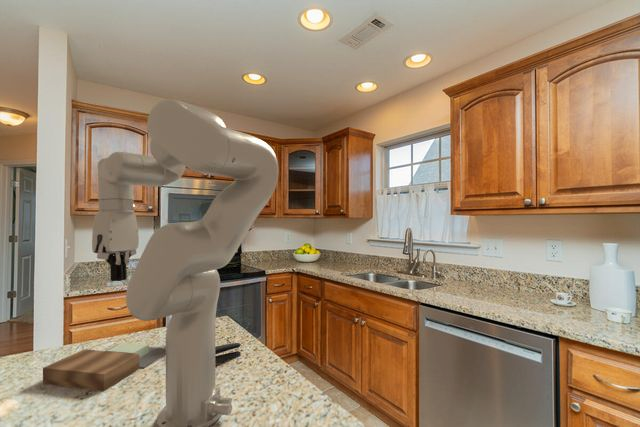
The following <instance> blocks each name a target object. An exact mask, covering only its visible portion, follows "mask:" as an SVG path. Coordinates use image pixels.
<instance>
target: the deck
mask: <svg viewBox="0 0 640 427" xmlns="http://www.w3.org/2000/svg"><path fill="white" fill-rule="evenodd" d="M138 369H139V370H140V368H139V354H131V353H120V352H108V351H106V350H97V349H95V350H94V349H82V350H79V351H77V352H75V353H73V354H71V355H68V356H66V357H64V358H61V359H60V360H57V361H55V362H53V363H50V364H49V365H46V366H44V367H42V385H48V386H56V387H66V388H74V389H75V388H76V389H82V390H83V389H84V390H90V391H99V392H105V391H107V390H109V389H110V388H112V387H113V386H115V385H117V384H118V383H119V382H121V381H123V380H124V379H126V378H127V377H129V376H131V375H133V374H134V373H136V372H137V371H139V370H138Z"/></svg>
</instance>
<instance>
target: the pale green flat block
mask: <svg viewBox="0 0 640 427" xmlns="http://www.w3.org/2000/svg"><path fill="white" fill-rule="evenodd" d="M116 345H117V346H116ZM116 345H114V346H115V347H114V346H112V347H113V348H112V347H110V348H111V349H110V348H108V349H109V350H108V349H106V350H107V351H108V352H120V353H131V354H139V358H140V357H142V356H144V355H145V354H147V353H149V347H150V346H149V343H148V344H147V343H134V342H133V343H132V342H131V343H130V342H122V343H120V344H116Z"/></svg>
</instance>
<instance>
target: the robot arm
mask: <svg viewBox="0 0 640 427" xmlns="http://www.w3.org/2000/svg"><path fill="white" fill-rule="evenodd" d="M147 132H148V133H149V135H150V137H151V139H150V142H149V143H150V144H149V148H150V149H149V150H150V152H151V156H149V155H144V154H138V153H132V152H127V151H126V152H125V151H115V152H112V153H111V154H110V155H108V156H107V157H105V158H101V159H100V160H99V161H98V162H97V194H98V197H97V198H98V202H97V203H98V212H96V213H95V216H94V220H93V225H92V237H91V239H92V240H91V249H92V252H93V254H97V255H96V257H97V259H98V260H105V262H106V263H107V265H108V266H109V267H110V268H109V270H110V281H111V282H123V281H125V280H128V276H127V275H128V274H127V264H129V259H130V258H131V257H132V256H134V255H137V249H138V248H139V238H140V237H139V226H138V221H137V216H136V213H135V201H134V200H135V199H134V193H135V192H134V186H145V187H164V186H167V185H170V184H172V183H174V182H176V181H178V180H180V178H182V176H183V174H184V172H185V171H186V168H188V169H190V170H192V171H194V172H197V173H199V174H204V175H207V176H208V175H209V176H216V177H217V176H218V177H223V178H232V179H234V180H233V181H232V183H231V184H229V185H228V186H227V187H225V188H224V189H223V190H222V191H220V192H219V193H218V194H217V195H216V196H215V197H214V199H213V200H212V202H211V203H210V205H209V207H208V209H207V210H206V213H205V214H204V215H203V217H202V218H200V219H199V220H196V221H190V222H189V221H182V222H181V221H179V222H171V223H168V224H164V225H163V226H161V227H159V228H158V229H157V230H156V231H155V232H154V233H153V234H152V235H151V236H150V237H149V240H148V242H147V244H146V245H145V248H144V250H143V251H142V254H141V255H140V257H139V260H138V261H137V263H136V266H135V268H134V270H133V272H132V274H131V276H130V278H129V280H128V283H127V287H126V292H125V293H126V294H125V304H126V308H127V310H128V312H129V314H130V315H131V316H132V317H134V318H135V319H137V320H139V321H144V322H150V321H155V320H159V319H160V320H161V319H163V318H167V317H170V316H171V317H170V320H169V321H168V324H167V328H166V332H165V349H166V355H165V406H164V407H163V408H162V409H161V410H160V411H159V412H158V414H157V419H156V423H157V424H156V425H157V427H211V425H213V424H214V423H216V422H217V420H218V419H219V418H221V416H230V415H231V413H232V410H233V405H232V403H233V402H232V401H233V399H232V397H222V395H221V388H220V387H217V386H216V363H215V356H216V355H215V347H216V319H217V318H216V317H217V316H216V315H217V306H218V301H219V296H220V292H221V278H220V273H219V272H218V269H222V268H224V267H226V266H227V265H228V264H229V263H230V262H231V260H232V259H233V257H234V256H235V254H236V252H237V251H238V249H239V248H240V246H241V245H242V243H243V241H244V239H245V237H246V236H247V234H248V233H249V231H250V229H251V228H252V226H253V224H254V222H255V221H256V219H257V217H258V216H259V215H260V214H261V212H262V211H263V210H264V208H265V207H266V205H267V204H268V202H269V201H270V199H271V197H273V194H274V193H275V190H276V188H277V185H278V181H279V174H280V171H279V161H278V158H277V156H276V153H275V152H274V150H273V149H272V147H271V146H270V145H269V144H268V143H267V142H265V141H263V140H262V139H260V138H259V137H256V136H253V135H251V134H248V133H246V132H245V133H244V132H242V131H239V130H235V129H231V128H228V127H227V126H226V125H225V122H223V120H222V119H221V118H220V117H219V116H218V115H216V114H215V113H213V112H211V111H209V110H207V109H204V108H201V107H199V106H196V105H193V104H190V103H187V102H184V101H182V100H178V99H174V98H166V99H164V100H160V101H158V102H157V103H156V104H155V105H154V106H153V107H152V108H151V110H150V111H149V113H148V116H147Z"/></svg>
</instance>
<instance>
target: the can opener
mask: <svg viewBox="0 0 640 427" xmlns="http://www.w3.org/2000/svg"><path fill="white" fill-rule="evenodd" d="M240 347H241V343H240V342H233V343H227V344H221V345H217V346H216V345H215V364H216V363H220V362H224V361H229V360H232V359H235V358H237V357H239V356H240V355H241V354H242V352H240V350H236V351H231V350H234V349H239V348H240ZM228 351H230V352H228ZM226 352H227V353H226ZM221 353H222V354H221ZM218 354H219V355H218Z"/></svg>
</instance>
